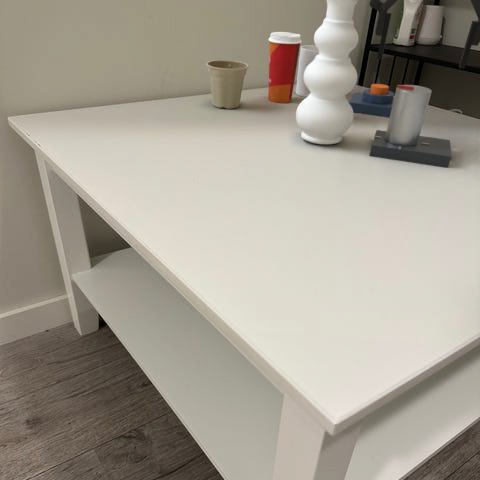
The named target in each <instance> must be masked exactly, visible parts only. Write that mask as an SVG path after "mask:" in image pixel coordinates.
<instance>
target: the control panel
mask: <svg viewBox="0 0 480 480" xmlns="http://www.w3.org/2000/svg"><path fill="white" fill-rule="evenodd" d="M386 132H387V130H381V129H377V130H376V131H375V133H374V135H373V140H372V143H371V146H370V152H369V157H375V158H381V159H388V160H395V161H402V162H409V163H415V164H423V165H429V166H434V167H442V168H449V166H450V164H451V160H452V158H453V157H452V145H451V139H446V138H439V137H432V136H425V135H424V136H423V135H420V136H419V140H418V143H417V144H416V145H412V146H402V145H396V144H392V143H390V142H388V141H386V140H385V136H386Z"/></svg>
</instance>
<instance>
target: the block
mask: <svg viewBox="0 0 480 480" xmlns="http://www.w3.org/2000/svg"><path fill="white" fill-rule="evenodd" d="M370 90H371V88H365V89H364V90H363V93H361V92H360V93H359V92H354V93H353V94H352V96H351V98H350V99H349V101H348V102H349V104H350V105H351V107H352V109H353V114H358V113H361V114H360V115H366V114H367V116H375V117H383V118H389V119H390V114H391V110H392V106H393V101H394V97H395V93H394V92H393V91H391V90H388V94H387V95H379V94H373V93H370Z"/></svg>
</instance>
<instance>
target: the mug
mask: <svg viewBox="0 0 480 480" xmlns="http://www.w3.org/2000/svg"><path fill="white" fill-rule="evenodd" d="M318 54H319V49H318V48H317V46H316V45H315V44H314V45H313V44H309V45H308V44H306V45H300V48H299V56H298V65H297V67H298V68H297V76H296V84H295V94H296V95H298V96H300V97H302V98H303V97H304V98H307V97H308V95H309V94H311V92H310V90H309V89H308V88H307V86H306V85H305V82H304V72H305V69H306V68H307V66H308V65H309V64H310V63H311V62H312V61H313V60H314V59H315V57H316V55H318Z"/></svg>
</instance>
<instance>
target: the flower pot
mask: <svg viewBox="0 0 480 480" xmlns="http://www.w3.org/2000/svg"><path fill="white" fill-rule="evenodd" d="M205 65H206V66H207V72H208V73H209V81H210V90H211V101H212V106H214V107H216V108H219V109H222V108H225V109H228V110H230V109H231V110H232V109H237V108H238V107H240V103H241V97H242V92H243V85H244V80H245V76H246V74H247V71H248V69H249V67H250V66H249V64H248V63H247V62H243V61H239V60H230V59H215V60H214V59H213V60H209V61H207V62H206V63H205Z"/></svg>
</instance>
